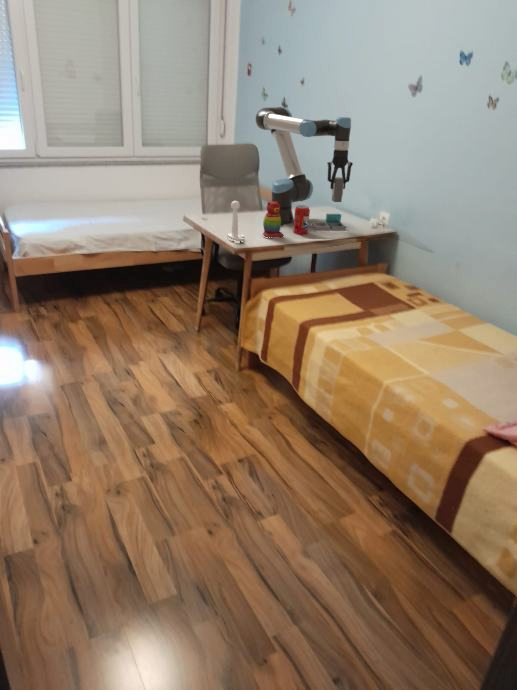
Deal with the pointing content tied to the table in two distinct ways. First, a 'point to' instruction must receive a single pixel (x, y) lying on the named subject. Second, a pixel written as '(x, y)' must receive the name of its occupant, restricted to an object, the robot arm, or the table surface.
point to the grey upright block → (338, 189)
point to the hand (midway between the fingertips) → (337, 195)
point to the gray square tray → (324, 227)
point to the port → (335, 222)
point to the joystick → (235, 223)
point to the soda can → (301, 220)
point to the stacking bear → (272, 221)
